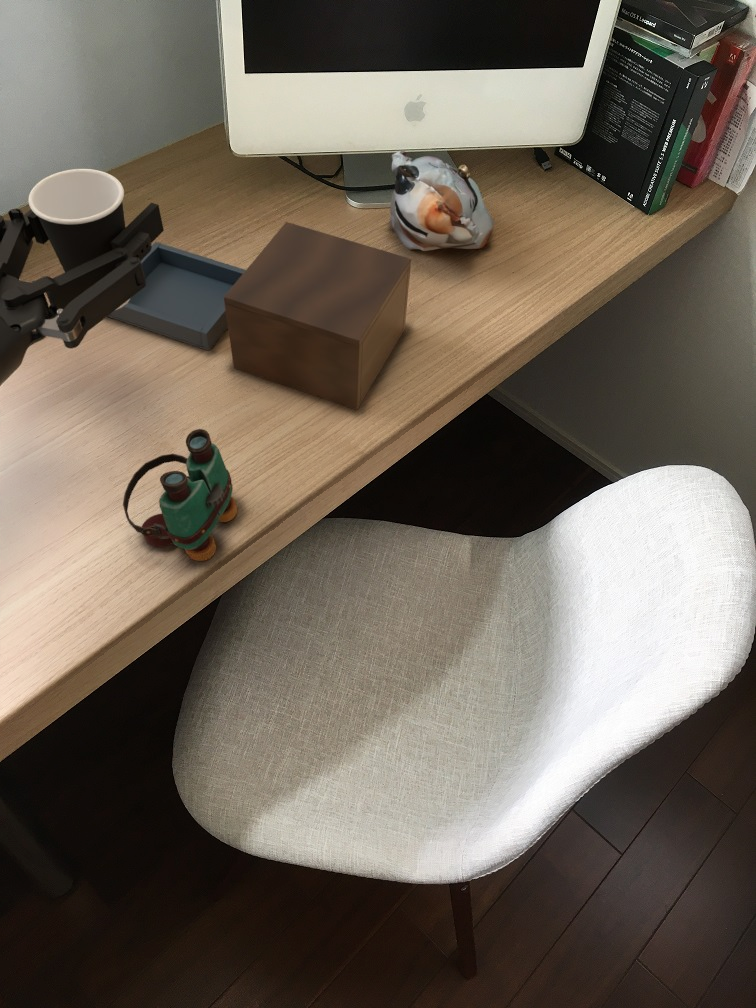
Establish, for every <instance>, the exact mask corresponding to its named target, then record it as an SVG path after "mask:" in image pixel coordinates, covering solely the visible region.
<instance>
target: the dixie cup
mask: <svg viewBox="0 0 756 1008" xmlns="http://www.w3.org/2000/svg"><path fill="white" fill-rule="evenodd" d="M124 197H125V190H124V186H123V184H122V183H121V182H120V180H119V179H118V178H117V177H115V176H114V175H112V174H109V173H107V172H105V171H102V170H97V169H92V168H73V169H67V170H63V171H59V172H55V173H53V174H51V175H49V176H46V177H45V178H43V179H41V180H40V181H38V183H36V184H35V185H34V186H33V188H32V189H31V191H30V192H29V195H28V205H29V208H30V210H31V209H32V211H33V212H34V213H35V214H36V215H37V216H38V218H39V220H40V222H41V224H42V226H43V228H44V230H45V232H46V234H47V236H48V238H49V240H48V241H49V243H50V245H51V247H52V249H53V251H54V253H55V255H56V257H57V259H58V261H59V263H60V265H61V268H62V270H63V271H64V272H63V273H65V272H67V271H69V270H71V269H74V268H76V267H78V266H80V265H82V264H84V263H86V262H88V261H90V260H93V259H95V258H97V257H99V256H101V255H103V254H105V253H107V252H110V251H112V250H113V249H112V245H111V241H112V240H113V239H114V238H115V237H116V236H117V235H118V234H120V233H121V232H122V231H123V230H124V229H125V228H126V221H125V220H126V219H125V212H124V204H123V200H124ZM116 268H117V267H116ZM129 300H130V299H129ZM129 300H127V301H126V302H125V303H124V304H122V305H121V306H120V307H118V308H117V309H120V308H121V307H123V306H124V305H126V304H127V303H128V302H129ZM117 309H116V310H117Z"/></svg>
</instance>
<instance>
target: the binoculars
mask: <svg viewBox="0 0 756 1008" xmlns="http://www.w3.org/2000/svg"><path fill="white" fill-rule="evenodd" d="M211 439H212V438H211V435H210V433H209V432H208V431H207V430H205V429H203V428H197V429H194V430H192V431H191V432H189V434H188V435H187V436H186V439H185V446H186V448H187V450H188V452H189V455H188V456H187V457H186V456H183V455H180V454H176V453H168V454H162V455H160V456H157V457H155V458H153V459H150V460H149V461H147V462H145V463H144V464H143V465H142V466H141V467H140V468H138V469H137V470H136V471H135V472H134V474H133V475H132V477H131V479H130V480H129V482H128V484H127V487H126V489H125V492H124V495H123V501H122V507H123V511H124V514H125V518H126V520H127V522H128V524H129V525H130V526H131V527H132V528H133V529H134V530H135V531H136V533H139V534H141V535H142V536H143V538H144V541H145V543H146V544H147V545H149V546H150V547H154V548H155V547H157V548H158V547H160V548H161V547H168V546H170V545H174V546H176V547H178V548H180V549H183V550H184V551H185V554H186V555H187V556H188V557H189V558H190V559H192V560H194V561H198V562H203V561H207V560H209V559H211V558H212V557H213V556H214V554H215V553H216V550H217V545H216V542H215V539H214V536H213V535H212V533H213V531H214V529H215V528H216V526H217V525H218V522H219V523H227V522H230V521H231V520H234V518H235V517H236V516H237V513H238V508H237V504H236V500H235V498H234V497H233V496H232V494H233V489H234V487H233V483H232V477H231V474H230V471H229V470H228V469H227V467H226V464H225V462H224V459H223V457H222V454H221V452H220V449H219V447H218V446H217V444H215V443H213V442H212V440H211ZM173 462H177V463H181V464H185V466H186V471H187V474H188V475H187V474H186V473H185V472H183V471H180V470H170V471H167V472H165V473H163V474H162V475H161V476H160V478H159V482H160V484H161V486H162V488H163V490H164V492H163V493H162V494H161V496H160V498H159V500H158V501H159V502H158V503H159V507H160V511H161V513H157V514H154V515H151V516H150V517H148V518H147V519H146V520H145V521H144V522H143V523H142V525H137V524H135V523H134V522H133V520H131V519H130V516H129V512H128V509H129V503H130V499H131V496H132V494H133V491H134V489H135V488H136V486H137V484H138V483H139V481H140V480H141V479H142V478H143V477H144V476H145V475H146V474H147V473H148V472H149V471H151V470H153V469H155V468H158V467H159V466H161V465H164V464H167V463H173Z"/></svg>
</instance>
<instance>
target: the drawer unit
mask: <svg viewBox="0 0 756 1008" xmlns="http://www.w3.org/2000/svg"><path fill="white" fill-rule="evenodd" d="M411 267H412V258H410V257H407V256H404V255H400V254H397V253H393V252H390V251H387V250H383V249H379V248H377V247H374V246H370V245H366V244H363V243H360V242H356V241H353V240H350V239H346V238H344V237H339V236H336V235H332V234H329V233H326V232H322V231H319V230H315V229H312V228H309V227H305V226H303V225H298V224H295V223H292V222H288V221H286V222H285V223H283V225H282V226H281V227H280V228H279V230H277V232H276V233H275V234H274V236H273V237H272V238H271V240H269V242H268V243H267V244H266V246H264V248H263V249H262V250H261V251H260V252H259V253H258V255H257V256H256V257H255V259H253V261H252V262H251V264H250V265H249V266H248V267H247V268H246V269H245V270H246V271H245V272H244V273H243V274H242V276H241V277H240V278H239V279H238V280H237V282H236V283H235V284H234V285H233V286H232V288H231V289H230V290H229V291H228V292H227V294H226V295H225V296H224V303H225V310H226V317H227V324H228V328H227V330H228V338H229V344H230V352H231V358H232V366H233V369H235V370H239V371H241V372H244V373H247V374H250V375H253V376H256V377H259V378H262V379H265V380H268V381H270V382H274V383H276V384H280V385H283V386H285V387H288V388H291V389H294V390H297V391H300V392H303V393H305V394H309V395H312V396H314V397H318V398H321V399H324V400H327V401H330V402H332V403H335V404H339V405H341V406H344V407H348V408H350V409H353V410H356V411H358V410H359V407H360V406H361V404H362V402H363V401H364V399H365V397H366V395H367V394H368V392H369V391H370V388H371V387H372V386H373V384H374V381H375V380H376V378H377V377H378V375H379V373H380V372H381V370H382V368H383V366H384V365H385V363H386V362H387V360H388V358H389V357H390V355H391V354H392V352H393V350H394V348H395V347H396V344H397V343H398V341H399V340H400V338H401V336H402V334H403V333H404V331H405V329H406V321H407V309H408V297H409V289H410V288H409V287H410V277H411Z"/></svg>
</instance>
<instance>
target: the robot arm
mask: <svg viewBox="0 0 756 1008" xmlns="http://www.w3.org/2000/svg"><path fill="white" fill-rule="evenodd" d="M7 213H8V216H9V219H10V220H9V219H4V216H3V215H1V214H0V387H1V386H2V385H3V384H4V383H5V382H6V381H7V380H8V379H9V378H10V377H11V376H12V375H13V374H14V373H15V372H16V371H17V370H18V369H19V368H20V367H21V365H22V363H23V362H24V361H23V360H24V357H25V356H26V352H27V350H28V348H30V347H31V346H32V345H34V344H36V343H38V342H41V341H43V340H45V338H46V337H48V338H54V339H58V340H62V342H63V344H64V347H65V348H67V349H76V348H77V347H78V346H80V344H81V343H82V341H83V340H84V338H85V337H86V335H87V334H88V333H89V331H91V329H93V328H94V327H96V326H97V325H98V324H99V323H101V322H102V321H103V320H105V319H106V318H107V317H108V315H109V314H111V313H112V312H113V311H115V310H116V309H117V308H118V307H120V306H121V305H122V304H124V303H125V302H126V301H127V300H129V299H130V298H131V297H133V296H134V295H135V294H136V293H138V292H139V291H140V290H142V289H143V288H144V287H145V286H146V281H145V277H144V272H143V268H142V264H141V260H142V259H143V258H144V257H145V256H146V255H147V254H148V253H149V252H150V251H151V248H152V243H153V242H154V241H155V240H156V239H157V238H158V237H159V236H161V234H162V233H163V232H164V231H165V230H164V224H163V219H162V215H161V210H160V206H159V204H157V203H154V202H150V203H149V204H148V205H147V206H146V207H145V208H144V209H143V210H142V211H141V212H140V213H139V214H138V215H136V217H135V218H134V219H132V220H131V222H129V224H128V225H127V226H125V229H124V230H123V231H122V232H121V233H120V234H118V235H117V236H116V237H115V238H114V239H113V240H112V241H111V245H112V249H113V250H112V251H110V252H107V253H105V254H103V255H101V256H99V257H97V258H95V259H93V260H90V261H88V262H86V263H84V264H82V265H80V266H78V267H76V268H74V269H71V270H69V271H67V272H62V273H61V274H58V275H57V276H55V277H51V276H48V275H44V276H42V277H40V278H38V279H36V280H33V281H24V280H21V279H20V278H21V276H22V273H23V271H24V268H25V265H26V262H27V260H28V258H29V255H30V252H31V250H32V247H33V245H34V240H33V239H35V242H36V243H37V244H41V245H45V244H46V243H47V242H48V241H49V238H48V236H47V234H46V232H45V230H44V228H43V226H42V224H41V222H40V220H39V218H38V216H37V215H36V214H35V213H34V212H33V211H32V209H31V208H30V209H29V210H28V211H27V212H25V213H23V210H22V209H20V208H12V209H10V210H8V212H7ZM116 267H117V268H116ZM46 296H47V297H46ZM47 299H48V300H47ZM48 302H49V303H48Z"/></svg>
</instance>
